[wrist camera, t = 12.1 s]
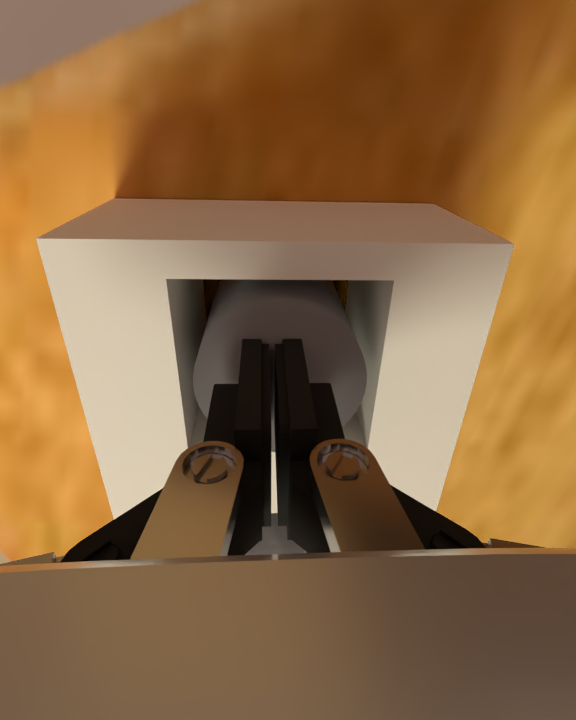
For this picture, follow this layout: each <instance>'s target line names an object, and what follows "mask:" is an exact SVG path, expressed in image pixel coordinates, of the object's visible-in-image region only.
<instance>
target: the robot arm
mask: <svg viewBox="0 0 576 720" xmlns="http://www.w3.org/2000/svg"><path fill="white" fill-rule="evenodd" d="M274 431H275V458H276V484H277V511H278V526H287V540H292V541H294V542H295V543H296V544H297V545H299V546H300V547H301V548H302V549H304V550H303V553H296V554H266V555H248V554H247V552H248V551H249V550H250V549H252V548H253V547H254V546H255V545H256V544H257V543H258V542H259V541H262V527H268V526H271V443H272V437H271V393H270V358H269V344H262V339H242V348H241V359H240V369H239V380H238V384H214V387H213V391H212V397H211V402H210V408H209V413H208V418H207V424H206V429H205V435H204V440H203V442H202V443H197V444H195V445H193V446H191V447H189V448H187V449H186V450H185V451H184V452H182V453H181V454H180V456H179V457H178V459H177V460H176V462H175V464H174V466H173V468H172V470H171V472H170V475H169V477H168V479H167V481H166V483H165V485H164V487H163V488H162V489H161V490H159V491H157V492H156V493H154V494H153V495H151V496H150V497H148V498H147V499H145V500H144V501H142V502H140V503H139V504H137V505H136V506H134V507H133V508H131V509H130V510H128V511H127V512H125V513H123V514H122V515H120V516H119V517H117V518H116V519H114V520H113V521H111V522H110V523H108V524H106V525H105V526H103V527H102V528H100V529H99V530H97V531H96V532H94V533H93V534H91V535H89V536H88V537H86V538H85V539H83V540H82V541H80V542H79V543H78V544H77V545H75V546H74V547H73V548H72V549H70V550H69V551H68V552H67V554H66V555H65V556H61V557H57V558H56V556H55V554H54V552H52V553H48V554H43V555H39V556H34V557H30V558H25V559H21V560H17V561H12V562H8V563H3V564H0V720H576V549H568V548H545V547H539V546H533V545H527V544H521V543H515V542H509V541H503V540H498V539H492V538H490V539H489V542H488V544H487V543H482V542H481V541H480V540H479V539H478V538H477V537H476V536H474V535H473V534H472V533H470V532H469V531H468V530H466V529H465V528H463V527H461V526H459V525H458V524H456V523H454V522H453V521H451V520H449V519H448V518H446V517H444V516H442V515H441V514H439V513H437V512H436V511H434V510H432V509H431V508H429V507H427V506H426V505H424V504H422V503H420V502H419V501H417V500H415V499H414V498H412V497H410V496H409V495H407V494H405V493H403V492H402V491H400V490H398V489H397V488H395V487H393V486H392V485H390V484H389V482H388V480H387V478H386V476H385V475H384V473H383V471H382V469H381V467H380V465H379V464H378V462H377V460H376V458H375V456H374V455H373V454H372V453H371V451H370V450H369V449H367V448H366V447H365V446H363V445H362V444H360V443H357V442H355V441H352V440H347V439H345V436H344V433H343V429H342V425H341V421H340V417H339V413H338V409H337V405H336V402H335V398H334V394H333V390H332V386H331V384H330V383H310V382H309V377H308V371H307V366H306V360H305V354H304V349H303V343H302V339H282V344H275V401H274Z"/></svg>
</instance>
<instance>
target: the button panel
mask: <svg viewBox="0 0 576 720" xmlns="http://www.w3.org/2000/svg"><path fill="white" fill-rule="evenodd" d="M36 240H37V244H38V247H39V251H40V255H41V258H42V262H43V265H44V269H45V273H46V276H47V280H48V284H49V287H50V291H51V294H52V298H53V302H54V305H55V309H56V312H57V316H58V320H59V323H60V327H61V330H62V334H63V338H64V341H65V345H66V348H67V352H68V356H69V359H70V363H71V366H72V370H73V374H74V377H75V381H76V385H77V388H78V392H79V395H80V399H81V403H82V406H83V410H84V413H85V417H86V421H87V424H88V428H89V431H90V435H91V439H92V442H93V446H94V449H95V453H96V457H97V460H98V464H99V467H100V471H101V475H102V478H103V482H104V486H105V489H106V493H107V496H108V500H109V504H110V507H111V511H112V514H113V518H114V519H116V518H117V517H119V516H120V515H122V514H123V513H125V512H127V511H128V510H130V509H131V508H133V507H134V506H136V505H137V504H139V503H140V502H142V501H144V500H145V499H147V498H148V497H150V496H151V495H153V494H154V493H156V492H157V491H159V490H161V489H162V488H163V487H164V485H165V483H166V481H167V479H168V477H169V475H170V472H171V470H172V468H173V466H174V464H175V462H176V460H177V459H178V457H179V456H180V454H181V453H182V452H184V451H185V450H186V449H187V448H189V447H191V446H193V445H195V444H197V443H202V442H203V440H204V435H205V429H206V424H207V418H206V417H205V415H204V414H203V413H202V411H201V409H200V407H199V405H198V403H197V400H196V397H195V393H194V388H193V372H194V365H195V362H196V358H197V355H198V352H199V348H200V345H201V341H202V338H203V334H204V331H205V328H206V324H207V323H206V311H205V299H204V287H203V279H251V280H348V287H347V298H346V308H345V313H346V315H347V317H348V320H349V322H350V325H351V327H352V330H353V332H354V334H355V337H356V339H357V342H358V344H359V346H360V349H361V351H362V354H363V356H364V360H365V364H366V371H367V382H366V389H365V393H364V396H363V399H362V401H361V404H360V406H359V407H358V409H357V411H356V413H355V414H354V415H353V417H352V418H351V419H350V420H349V421H348V422H347V423H346V425H345V426H344V427H342V429H343V433H344V436H345V439H347V440H352V441H355V442H357V443H360V444H362V445H363V446H365V447H366V448H367V449H369V450H370V451H371V453H372V454H373V455H374V456H375V458H376V460H377V462H378V464H379V465H380V467H381V469H382V471H383V473H384V475H385V476H386V478H387V480H388V482H389V484H390V485H392V486H393V487H395V488H397V489H398V490H400V491H402V492H403V493H405V494H407V495H409V496H410V497H412V498H414V499H415V500H417V501H419V502H420V503H422V504H424V505H426V506H427V507H429V508H431V509H432V510H434V511H436V509H437V506H438V503H439V499H440V496H441V492H442V489H443V486H444V482H445V479H446V475H447V472H448V469H449V465H450V462H451V458H452V455H453V452H454V448H455V445H456V441H457V438H458V435H459V431H460V428H461V424H462V421H463V418H464V414H465V411H466V407H467V404H468V401H469V397H470V394H471V390H472V387H473V383H474V380H475V377H476V373H477V370H478V366H479V363H480V360H481V356H482V353H483V349H484V346H485V343H486V339H487V336H488V332H489V329H490V326H491V322H492V319H493V315H494V312H495V309H496V305H497V302H498V298H499V295H500V292H501V288H502V285H503V281H504V278H505V275H506V271H507V268H508V264H509V261H510V258H511V254H512V251H513V247H514V244H513V243H511V242H509V241H507V240H505V239H503V238H501V237H499V236H497V235H495V234H493V233H491V232H489V231H487V230H485V229H483V228H481V227H479V226H477V225H475V224H473V223H471V222H469V221H467V220H465V219H463V218H461V217H459V216H457V215H455V214H453V213H451V212H449V211H447V210H445V209H443V208H441V207H439V206H437V205H435V204H429V203H368V202H307V201H247V200H186V199H125V198H114V199H112V200H110V201H108V202H106V203H104V204H102V205H100V206H98V207H96V208H94V209H92V210H90V211H88V212H87V213H85V214H83V215H81V216H79V217H77V218H75V219H73V220H71V221H69V222H67V223H65V224H63V225H61V226H59V227H57V228H55V229H54V230H52V231H50V232H48V233H46V234H44V235H42V236H40V237H38V238H36ZM271 513H278V511H277V484H276V458H275V451H271Z"/></svg>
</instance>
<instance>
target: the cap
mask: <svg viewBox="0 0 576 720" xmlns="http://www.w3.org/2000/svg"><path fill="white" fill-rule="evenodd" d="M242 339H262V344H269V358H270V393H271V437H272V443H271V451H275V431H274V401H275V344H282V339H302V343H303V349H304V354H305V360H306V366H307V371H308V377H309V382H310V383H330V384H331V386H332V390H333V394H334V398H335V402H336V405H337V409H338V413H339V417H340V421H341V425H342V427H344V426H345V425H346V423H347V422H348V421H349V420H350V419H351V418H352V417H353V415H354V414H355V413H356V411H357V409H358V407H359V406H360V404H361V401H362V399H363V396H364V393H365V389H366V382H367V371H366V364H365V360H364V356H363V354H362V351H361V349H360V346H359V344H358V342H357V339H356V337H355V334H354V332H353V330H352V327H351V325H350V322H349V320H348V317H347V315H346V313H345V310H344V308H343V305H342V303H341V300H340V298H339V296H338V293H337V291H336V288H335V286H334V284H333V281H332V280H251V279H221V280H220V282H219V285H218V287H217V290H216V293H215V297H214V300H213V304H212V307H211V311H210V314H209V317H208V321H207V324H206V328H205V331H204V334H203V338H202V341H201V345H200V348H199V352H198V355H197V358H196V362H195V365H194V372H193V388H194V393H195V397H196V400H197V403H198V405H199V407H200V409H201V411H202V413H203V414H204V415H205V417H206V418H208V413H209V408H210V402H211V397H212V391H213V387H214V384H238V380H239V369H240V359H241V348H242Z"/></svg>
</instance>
